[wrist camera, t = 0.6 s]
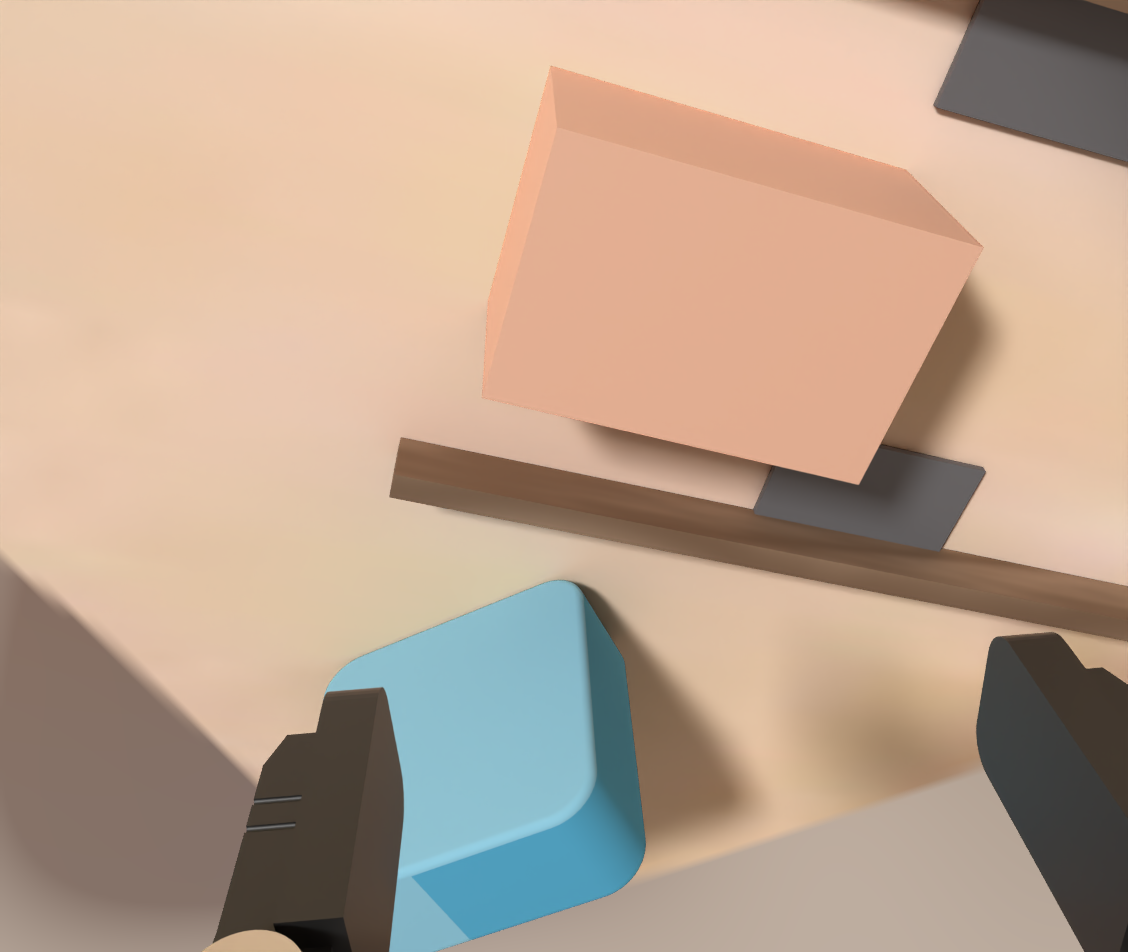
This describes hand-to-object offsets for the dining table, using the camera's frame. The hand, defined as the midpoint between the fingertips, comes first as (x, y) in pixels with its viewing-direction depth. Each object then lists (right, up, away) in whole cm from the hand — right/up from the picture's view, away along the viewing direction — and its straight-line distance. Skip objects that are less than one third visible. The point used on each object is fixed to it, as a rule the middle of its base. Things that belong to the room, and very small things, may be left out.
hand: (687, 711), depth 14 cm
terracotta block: (+3, +11, +21) cm, 24 cm away
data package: (-6, -4, +31) cm, 32 cm away
